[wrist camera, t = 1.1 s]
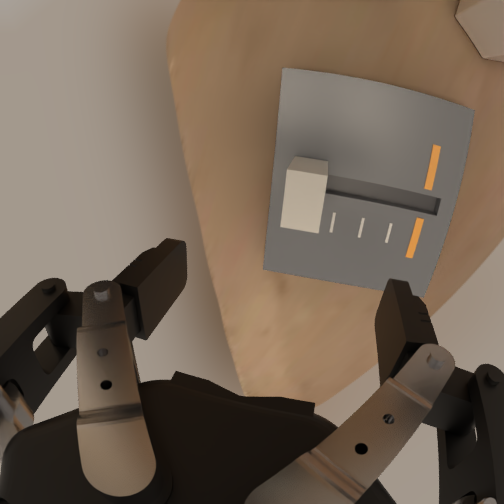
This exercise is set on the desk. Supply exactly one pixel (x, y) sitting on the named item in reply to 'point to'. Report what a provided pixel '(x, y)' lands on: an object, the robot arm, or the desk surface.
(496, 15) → the jar
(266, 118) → the desk surface
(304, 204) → the fader tab
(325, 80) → the fader console
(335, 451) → the robot arm
